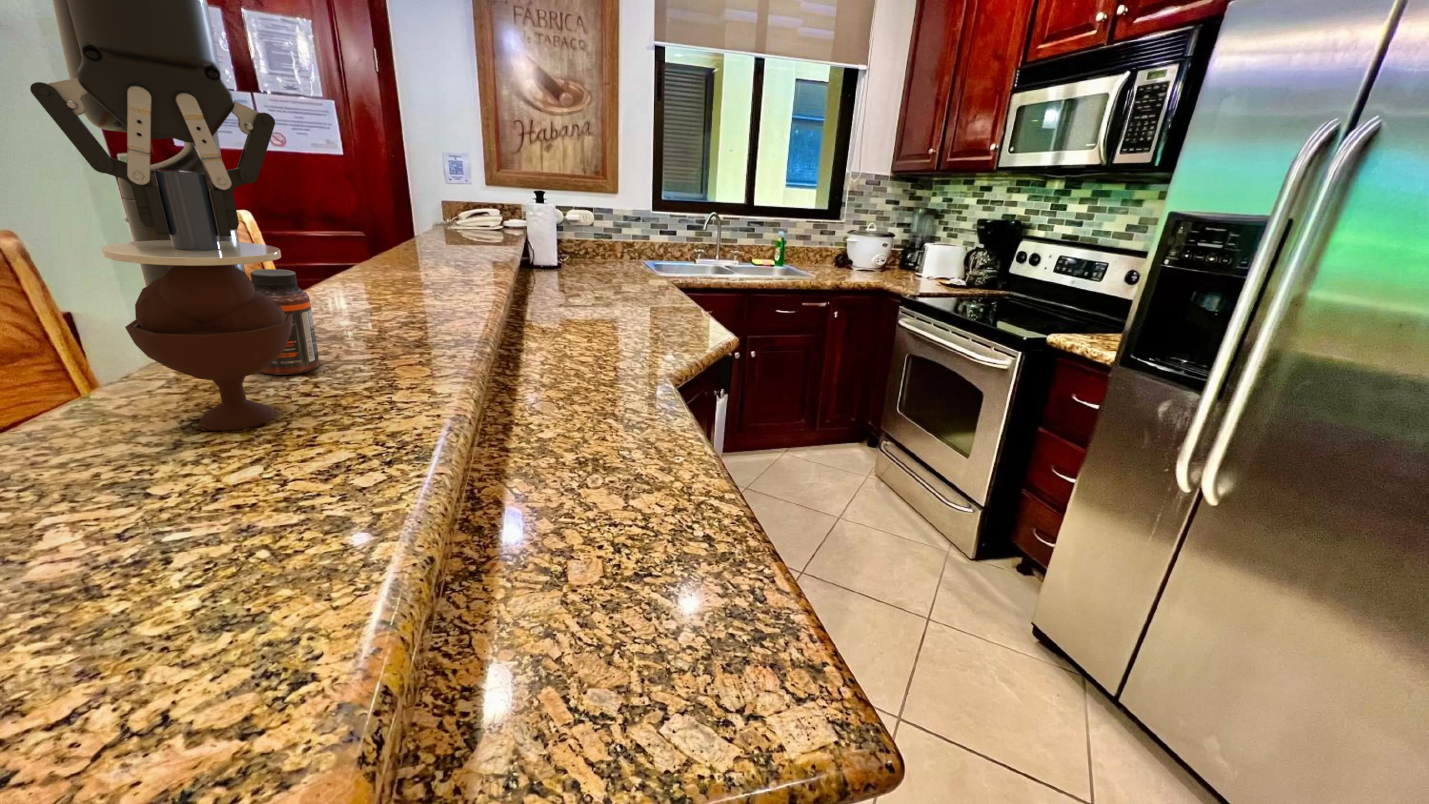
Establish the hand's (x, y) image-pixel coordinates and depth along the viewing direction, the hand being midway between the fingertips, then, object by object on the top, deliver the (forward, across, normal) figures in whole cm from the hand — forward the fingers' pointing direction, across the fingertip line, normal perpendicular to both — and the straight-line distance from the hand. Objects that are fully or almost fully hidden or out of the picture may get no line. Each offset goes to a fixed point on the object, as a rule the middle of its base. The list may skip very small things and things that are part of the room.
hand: (193, 233), depth 46 cm
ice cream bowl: (+17, 0, 0) cm, 17 cm away
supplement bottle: (+17, -6, -14) cm, 23 cm away
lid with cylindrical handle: (+2, 0, 0) cm, 2 cm away
